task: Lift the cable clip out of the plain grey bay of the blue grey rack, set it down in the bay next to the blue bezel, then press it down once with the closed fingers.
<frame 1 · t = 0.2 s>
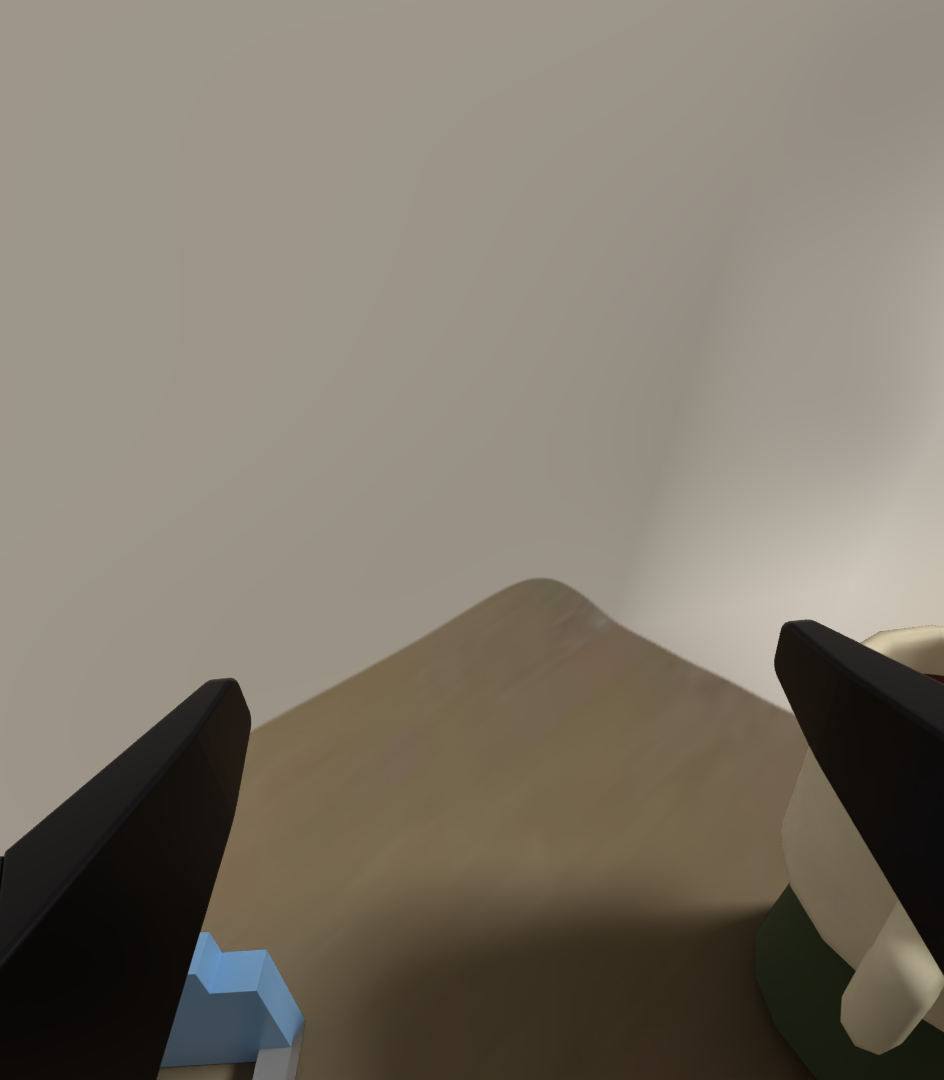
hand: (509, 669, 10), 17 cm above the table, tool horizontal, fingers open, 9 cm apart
character mug: (855, 1008, 19), on the table
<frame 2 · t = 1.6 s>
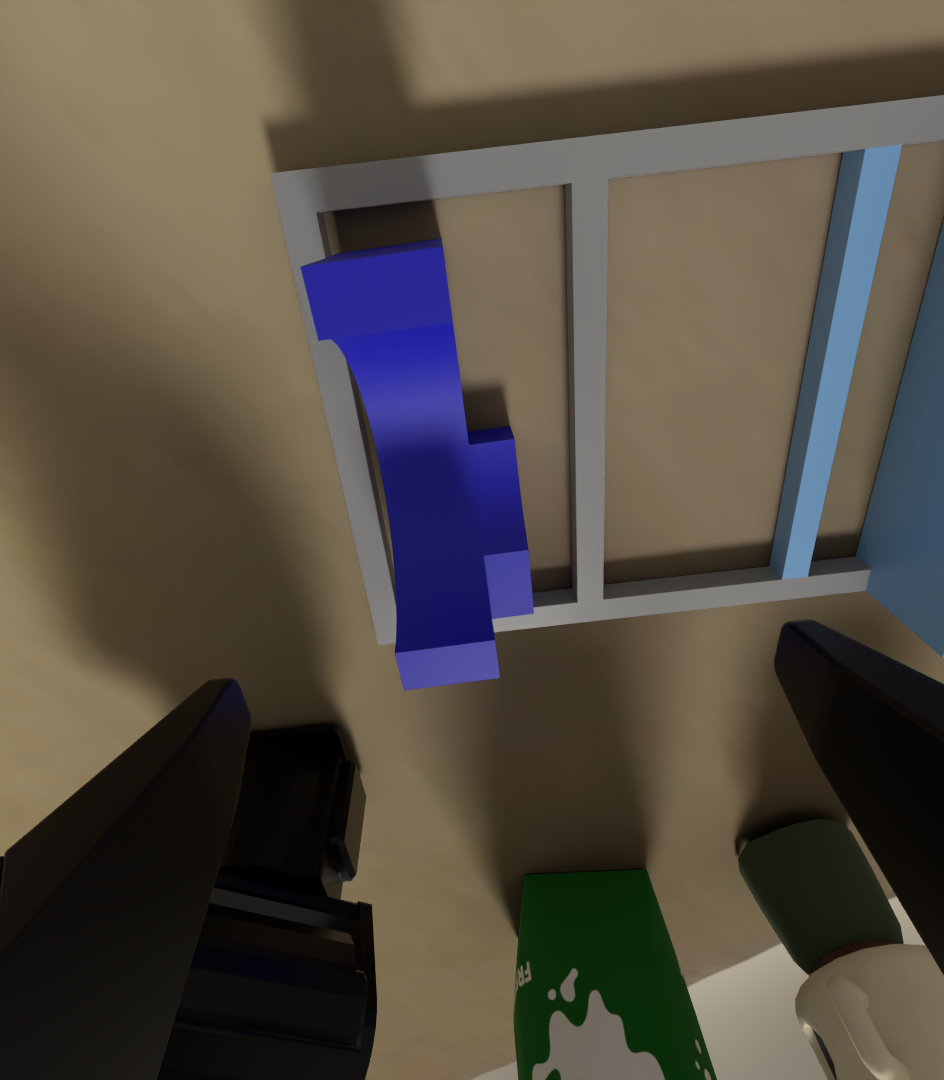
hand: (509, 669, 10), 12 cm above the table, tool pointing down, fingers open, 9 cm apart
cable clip: (445, 431, 20), resting in blue grey rack
milk carton: (577, 901, 35), on the table
blue grey rack: (583, 419, 20), on the table
character mug: (786, 839, 33), on the table
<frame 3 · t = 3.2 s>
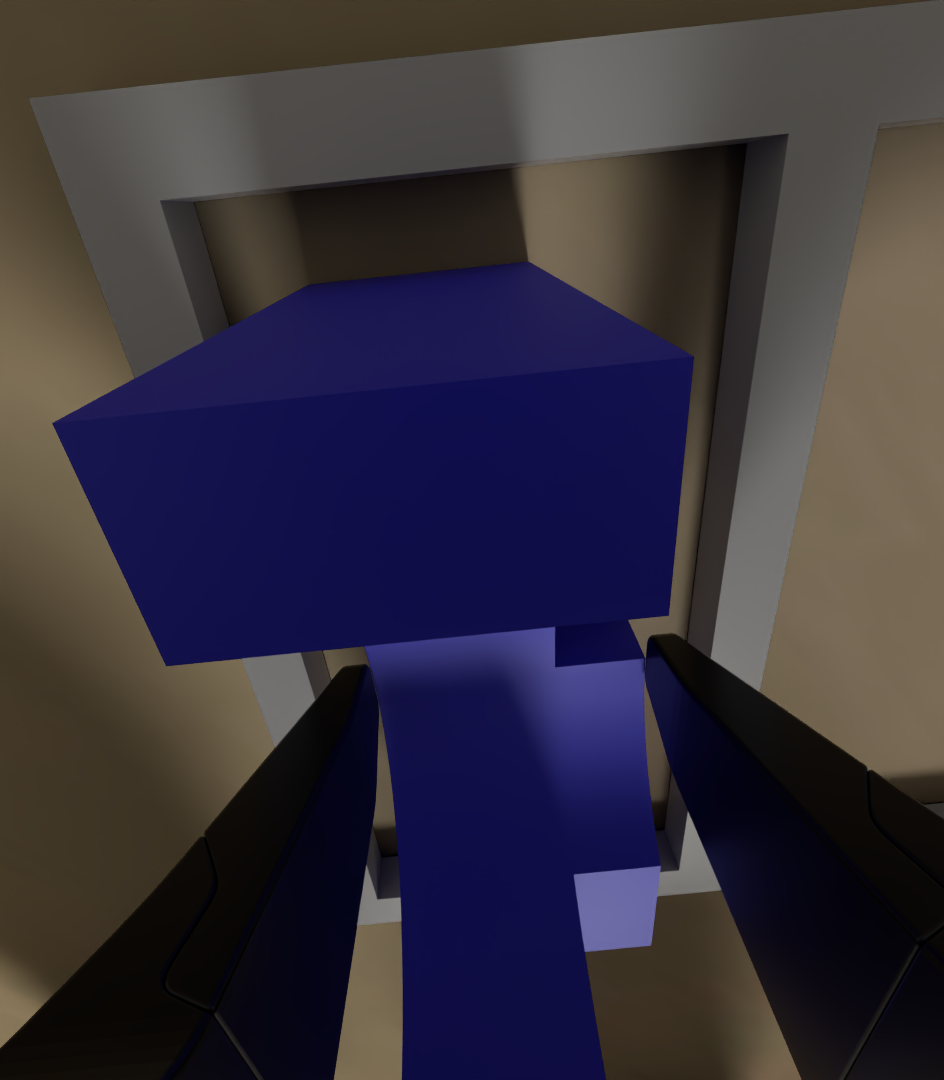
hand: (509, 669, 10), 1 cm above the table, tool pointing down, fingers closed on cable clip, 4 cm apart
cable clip: (501, 610, 11), resting in blue grey rack, touching gripper
blue grey rack: (719, 595, 11), on the table
when the fingers open (3 cm above the table, at t = 6.9 s): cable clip drops 2 cm, resting in blue grey rack.
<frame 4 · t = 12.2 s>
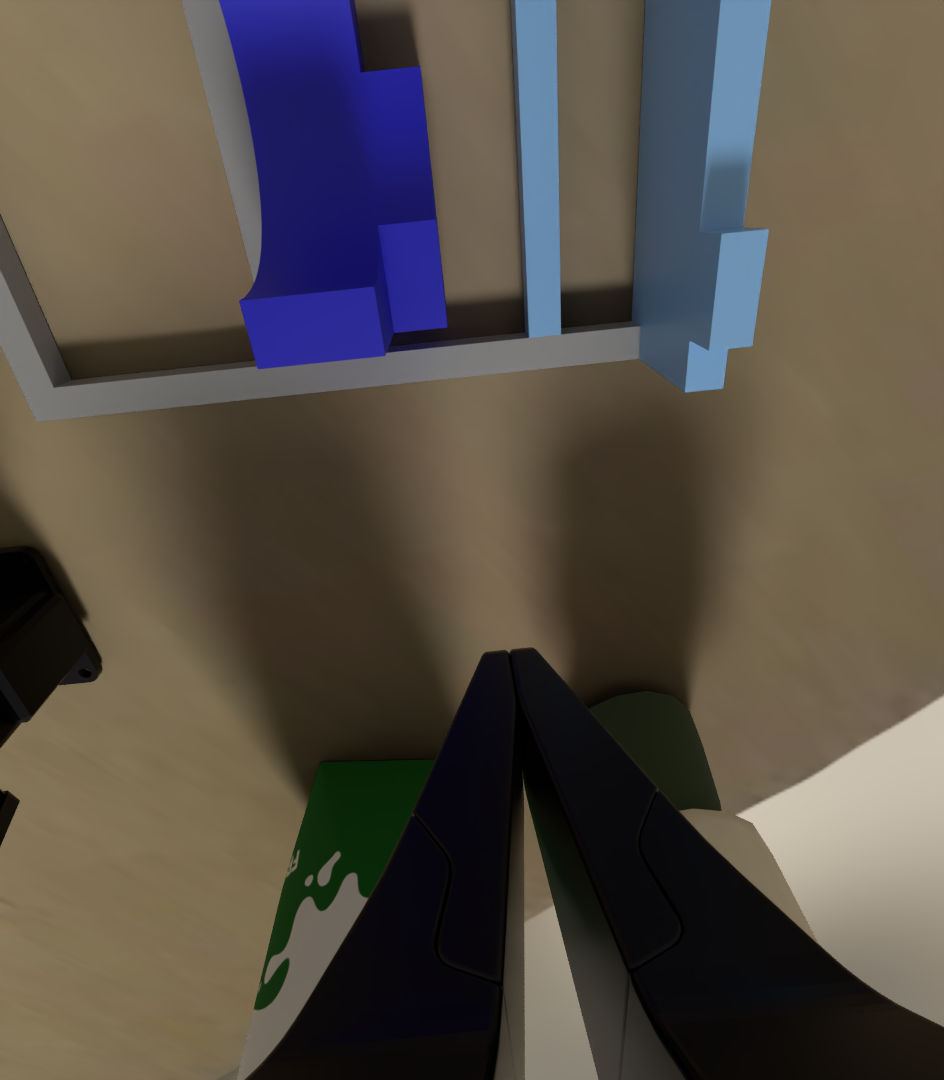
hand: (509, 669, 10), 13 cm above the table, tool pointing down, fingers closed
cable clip: (340, 88, 16), resting in blue grey rack
milk carton: (394, 800, 31), on the table
blue grey rack: (234, 89, 15), on the table
character mug: (623, 724, 28), on the table
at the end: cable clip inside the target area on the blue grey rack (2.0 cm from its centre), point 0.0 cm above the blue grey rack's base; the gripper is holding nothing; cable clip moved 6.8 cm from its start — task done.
